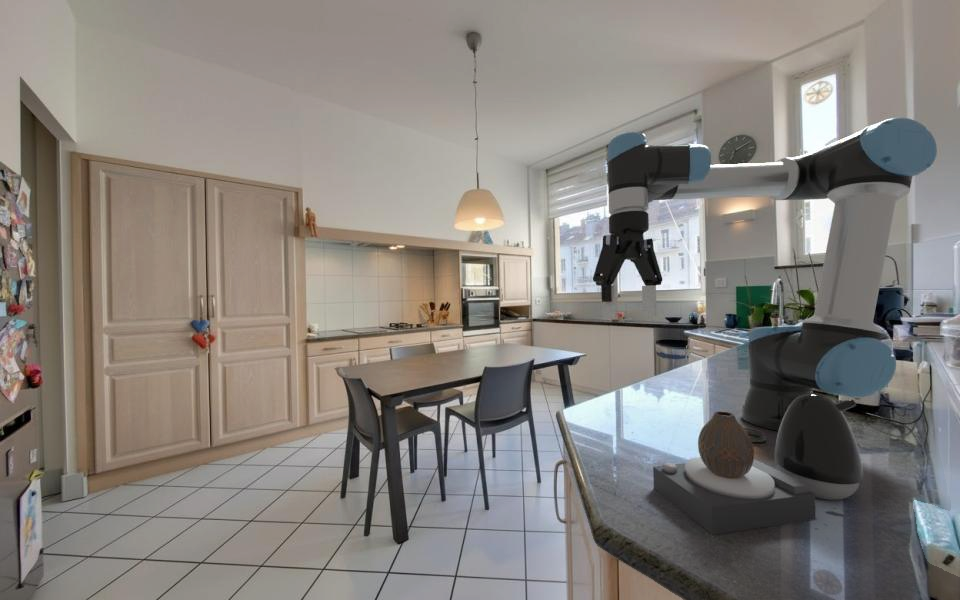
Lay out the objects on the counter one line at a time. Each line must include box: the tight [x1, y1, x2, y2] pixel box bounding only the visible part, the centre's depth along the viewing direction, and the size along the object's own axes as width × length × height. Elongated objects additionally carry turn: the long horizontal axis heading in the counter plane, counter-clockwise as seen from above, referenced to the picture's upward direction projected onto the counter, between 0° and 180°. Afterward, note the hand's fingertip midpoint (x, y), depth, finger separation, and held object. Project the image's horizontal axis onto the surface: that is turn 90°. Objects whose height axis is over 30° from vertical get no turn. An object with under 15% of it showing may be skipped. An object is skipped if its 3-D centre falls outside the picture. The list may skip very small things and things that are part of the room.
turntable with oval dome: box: [652, 456, 817, 536], centre depth 55 cm, size 16×12×4 cm
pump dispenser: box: [773, 392, 864, 501], centre depth 58 cm, size 10×10×15 cm
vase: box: [697, 410, 755, 478], centre depth 55 cm, size 7×7×9 cm
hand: (630, 317), depth 75 cm, fingers open, 13 cm apart
